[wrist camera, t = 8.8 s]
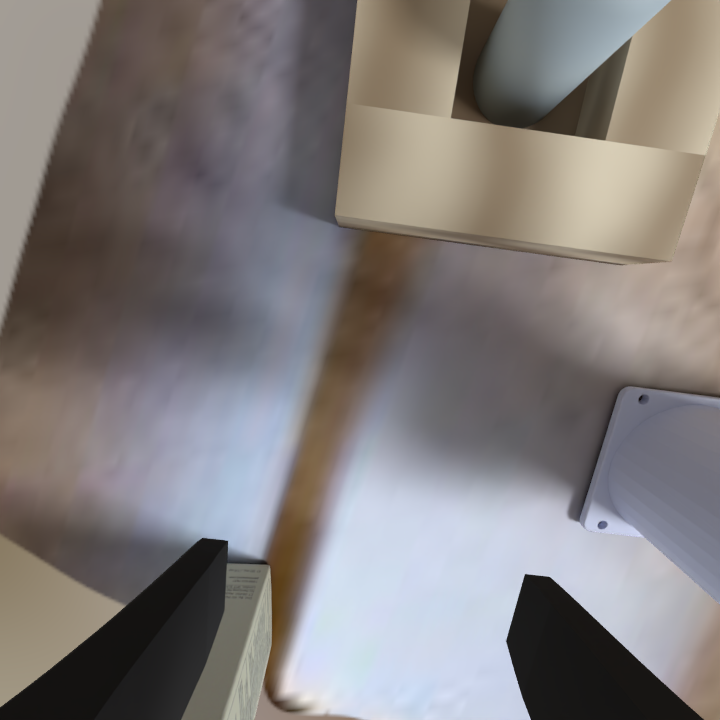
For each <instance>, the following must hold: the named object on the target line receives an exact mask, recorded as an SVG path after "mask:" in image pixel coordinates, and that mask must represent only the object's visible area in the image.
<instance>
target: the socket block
mask: <svg viewBox="0 0 720 720" xmlns="http://www.w3.org/2000/svg"><path fill="white" fill-rule="evenodd" d="M507 1H508V0H357V9H356V19H355V28H354V38H353V47H352V57H351V66H350V76H349V85H348V95H347V104H346V113H345V123H344V132H343V142H342V151H341V161H340V170H339V180H338V189H337V199H336V208H335V217H336V220H337V222H338V225H339V227H345V228H352V229H360V230H367V231H374V232H382V233H389V234H396V235H403V236H411V237H418V238H425V239H433V240H440V241H447V242H455V243H462V244H469V245H477V246H484V247H491V248H499V249H506V250H513V251H521V252H528V253H535V254H543V255H550V256H557V257H565V258H572V259H579V260H586V261H594V262H601V263H608V264H616V265H631V264H644V263H658V262H672V259H673V256H674V253H675V250H676V247H677V244H678V240H679V237H680V234H681V231H682V228H683V225H684V222H685V218H686V215H687V212H688V209H689V206H690V203H691V200H692V196H693V193H694V190H695V187H696V184H697V181H698V178H699V175H700V171H701V168H702V165H703V162H704V159H705V156H706V153H707V149H708V146H709V143H710V140H711V137H712V134H713V131H714V127H715V124H716V121H717V118H718V115H719V112H720V0H671V1H670V2H669V3H668V4H667V5H666V6H664V7H663V8H662V9H661V10H660V11H659V12H658V13H657V14H656V15H655V16H654V17H652V18H651V19H650V20H649V21H648V22H647V23H646V24H645V25H644V26H643V27H642V28H640V29H639V30H638V31H637V32H636V33H635V34H634V35H633V36H632V37H631V38H630V39H629V40H627V41H626V42H625V43H624V44H623V45H622V46H621V47H620V48H619V49H618V50H617V51H615V52H614V53H613V54H612V55H611V56H610V57H609V58H608V59H607V60H606V61H605V62H603V63H602V64H601V65H600V66H599V67H598V68H597V69H596V70H595V71H594V72H593V73H591V74H590V75H589V76H588V77H587V78H586V79H585V80H584V81H583V82H582V83H581V84H579V85H578V86H577V87H576V88H575V89H574V90H573V91H572V92H571V93H570V94H569V95H567V96H566V97H565V98H564V99H563V100H562V101H561V102H560V103H559V104H558V105H557V106H555V107H554V108H553V109H552V110H551V111H550V112H549V113H548V114H547V115H546V116H545V117H544V118H542V119H541V120H540V121H538V122H537V123H535V124H533V125H531V126H529V127H526V128H523V129H521V128H514V127H507V126H501V125H495V124H493V123H492V122H490V121H489V120H488V119H487V118H486V117H485V116H484V115H483V113H482V112H481V110H480V109H479V107H478V105H477V102H476V99H475V96H474V90H473V76H474V70H475V66H476V63H477V60H478V58H479V56H480V54H481V52H482V50H483V48H484V46H485V44H486V42H487V40H488V38H489V36H490V34H491V32H492V30H493V28H494V26H495V24H496V22H497V20H498V19H499V17H500V15H501V13H502V11H503V9H504V7H505V5H506V3H507Z"/></svg>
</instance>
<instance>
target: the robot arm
mask: <svg viewBox="0 0 720 720" xmlns="http://www.w3.org/2000/svg"><path fill="white" fill-rule="evenodd" d="M641 395H643V398H642V399H641V400H640V401H639V402H638V399H639V397H640V396H641ZM600 521H602V522H601V523H599V522H600ZM598 523H599V524H598ZM580 524H581V525H582V526H583V527H584V528H585V529H586V530H587V531H591V532H600V533H609V534H617V535H626V536H635V537H643V538H646V539H647V540H648V541H649V542H651V543H652V544H653V545H654V546H655V547H656V548H657V549H658V550H659V551H661V552H662V553H663V554H664V555H665V556H666V557H667V558H668V559H670V560H671V561H672V562H673V563H674V564H675V565H676V566H677V567H679V568H680V569H681V570H682V571H683V572H684V573H685V574H686V575H687V576H689V577H690V578H691V579H692V580H693V581H694V582H695V583H696V584H698V585H699V586H700V587H701V588H702V589H703V590H704V591H705V592H707V593H708V594H709V595H710V596H711V597H712V598H713V599H714V600H715V601H717V602H718V603H719V604H720V398H719V397H711V396H703V395H695V394H688V393H680V392H672V391H664V390H656V389H648V388H640V387H633V386H629V387H625V388H623V389H622V390H621V391H620V392H619V394H618V397H617V401H616V404H615V407H614V410H613V413H612V417H611V420H610V423H609V426H608V429H607V433H606V436H605V439H604V442H603V446H602V449H601V452H600V455H599V458H598V462H597V465H596V468H595V471H594V474H593V478H592V481H591V484H590V487H589V491H588V494H587V497H586V500H585V503H584V507H583V510H582V513H581V516H580ZM227 552H228V541H225V540H216V539H207V538H202V539H200V540H199V541H198V542H197V543H195V544H194V545H193V546H192V547H191V548H190V549H189V550H188V551H187V552H186V553H185V554H184V555H182V556H181V557H180V558H179V559H178V560H177V561H176V562H175V563H174V564H173V565H172V566H171V567H169V568H168V569H167V570H166V571H165V572H164V573H163V574H162V575H161V576H160V577H158V578H157V579H156V580H155V581H154V582H153V583H152V584H151V585H150V586H148V587H147V588H146V589H145V590H144V591H143V592H142V593H141V594H139V595H138V596H137V597H136V598H135V599H134V600H132V601H131V602H130V603H129V604H128V605H127V606H126V607H124V608H123V609H122V610H121V611H120V612H119V613H118V614H117V615H115V616H114V617H113V618H112V619H111V620H109V621H108V622H107V623H106V624H105V625H104V626H103V627H101V628H100V629H99V630H98V631H97V632H95V633H94V634H93V635H92V636H90V637H89V638H88V639H87V640H85V641H84V642H83V643H82V644H80V645H79V646H78V647H77V648H76V649H74V650H73V651H72V652H71V653H69V654H68V655H67V656H66V657H64V658H63V659H62V660H61V661H59V662H58V663H57V664H56V665H55V666H53V667H52V668H51V669H50V670H48V671H47V672H46V673H44V674H43V675H42V676H41V677H39V678H38V679H37V680H35V681H34V682H33V683H32V684H30V685H29V686H28V687H27V688H25V689H24V690H23V691H21V692H20V693H19V694H18V695H16V696H15V697H13V698H12V699H11V700H9V701H8V702H7V703H5V704H4V705H3V706H1V707H0V720H181V719H182V717H183V714H184V712H185V710H186V708H187V706H188V703H189V701H190V699H191V697H192V694H193V692H194V690H195V688H196V685H197V683H198V681H199V679H200V676H201V674H202V672H203V670H204V667H205V665H206V662H207V660H208V657H209V654H210V651H211V648H212V646H213V643H214V640H215V637H216V634H217V631H218V628H219V625H220V622H221V620H222V617H223V614H224V611H225V591H226V571H227ZM506 642H507V646H508V649H509V653H510V656H511V660H512V664H513V667H514V671H515V674H516V677H517V681H518V684H519V687H520V691H521V694H522V697H523V700H524V703H525V705H526V708H527V710H528V713H529V716H530V718H531V720H704V719H703V718H701V717H700V716H699V715H698V714H697V713H696V712H695V711H693V710H692V709H691V708H690V707H689V706H688V705H687V704H686V703H685V702H683V701H682V700H681V699H680V698H679V697H678V696H677V695H676V694H675V693H674V692H672V691H671V690H670V689H669V688H668V687H667V686H666V685H665V684H664V683H663V682H661V681H660V680H659V679H658V678H657V677H656V676H655V675H654V674H653V673H652V672H651V671H650V670H648V669H647V668H646V667H645V666H644V665H643V664H642V663H641V662H640V661H639V660H638V659H637V658H636V657H635V656H633V655H632V654H631V653H630V652H629V651H628V650H627V649H626V648H625V647H624V646H623V645H622V644H621V643H620V642H619V641H618V640H617V639H615V638H614V637H613V636H612V635H611V634H610V633H609V632H608V631H607V630H606V629H605V628H604V627H603V626H602V625H601V624H600V623H599V622H598V621H597V620H596V619H594V618H593V617H592V616H591V615H590V614H589V613H588V612H587V611H586V610H585V609H584V608H583V607H582V606H581V605H580V604H579V603H578V602H577V601H576V600H574V599H573V598H572V597H571V596H570V595H569V594H568V593H567V592H566V591H565V590H564V589H563V588H562V587H560V586H559V585H558V584H557V583H556V582H555V581H554V580H553V579H551V578H550V577H545V576H536V575H527V574H525V576H524V580H523V583H522V587H521V590H520V594H519V598H518V601H517V605H516V608H515V612H514V615H513V619H512V622H511V626H510V629H509V633H508V636H507V640H506Z"/></svg>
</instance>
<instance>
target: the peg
mask: <svg viewBox="0 0 720 720" xmlns="http://www.w3.org/2000/svg"><path fill="white" fill-rule="evenodd" d="M670 1H671V0H508V1H507V3H506V5H505V7H504V9H503V11H502V13H501V15H500V17H499V19H498V20H497V22H496V24H495V26H494V28H493V30H492V32H491V34H490V36H489V38H488V40H487V42H486V44H485V46H484V48H483V50H482V52H481V54H480V56H479V58H478V60H477V63H476V66H475V70H474V76H473V90H474V96H475V99H476V102H477V105H478V107H479V109H480V110H481V112H482V113H483V115H484V116H485V117H486V118H487V119H488V120H489V121H490V122H492V123H493V124H495V125H501V126H507V127H514V128H521V129H523V128H526V127H529V126H531V125H533V124H535V123H537V122H538V121H540V120H541V119H542V118H544V117H545V116H546V115H547V114H548V113H549V112H550V111H551V110H552V109H553V108H554V107H555V106H557V105H558V104H559V103H560V102H561V101H562V100H563V99H564V98H565V97H566V96H567V95H569V94H570V93H571V92H572V91H573V90H574V89H575V88H576V87H577V86H578V85H579V84H581V83H582V82H583V81H584V80H585V79H586V78H587V77H588V76H589V75H590V74H591V73H593V72H594V71H595V70H596V69H597V68H598V67H599V66H600V65H601V64H602V63H603V62H605V61H606V60H607V59H608V58H609V57H610V56H611V55H612V54H613V53H614V52H615V51H617V50H618V49H619V48H620V47H621V46H622V45H623V44H624V43H625V42H626V41H627V40H629V39H630V38H631V37H632V36H633V35H634V34H635V33H636V32H637V31H638V30H639V29H640V28H642V27H643V26H644V25H645V24H646V23H647V22H648V21H649V20H650V19H651V18H652V17H654V16H655V15H656V14H657V13H658V12H659V11H660V10H661V9H662V8H663V7H664V6H666V5H667V4H668V3H669V2H670Z"/></svg>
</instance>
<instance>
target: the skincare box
mask: <svg viewBox="0 0 720 720" xmlns="http://www.w3.org/2000/svg"><path fill="white" fill-rule="evenodd" d="M271 638H272V608H271V575H270V566H269V565H257V564H230V563H227V571H226V591H225V611H224V614H223V617H222V620H221V622H220V625H219V628H218V631H217V634H216V637H215V640H214V643H213V646H212V648H211V651H210V654H209V657H208V660H207V662H206V665H205V667H204V670H203V672H202V674H201V676H200V679H199V681H198V683H197V685H196V688H195V690H194V692H193V694H192V697H191V699H190V701H189V703H188V706H187V708H186V710H185V712H184V714H183V717H182V719H181V720H254V719H255V714H256V709H257V706H258V701H259V697H260V693H261V688H262V684H263V680H264V675H265V671H266V666H267V662H268V658H269V653H270V649H271Z"/></svg>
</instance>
